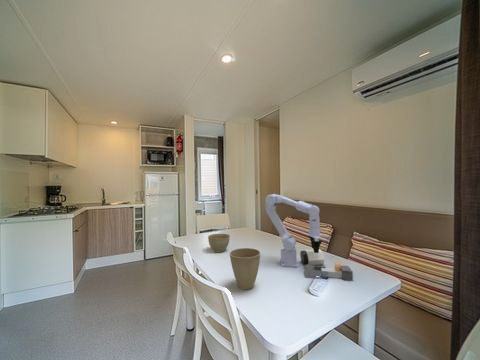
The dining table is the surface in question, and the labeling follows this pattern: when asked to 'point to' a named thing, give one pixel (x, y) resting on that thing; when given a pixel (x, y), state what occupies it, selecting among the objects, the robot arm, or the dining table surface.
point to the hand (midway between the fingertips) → (315, 250)
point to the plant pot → (245, 266)
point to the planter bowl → (218, 242)
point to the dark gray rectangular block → (347, 273)
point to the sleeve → (313, 271)
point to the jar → (312, 257)
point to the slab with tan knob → (334, 271)
